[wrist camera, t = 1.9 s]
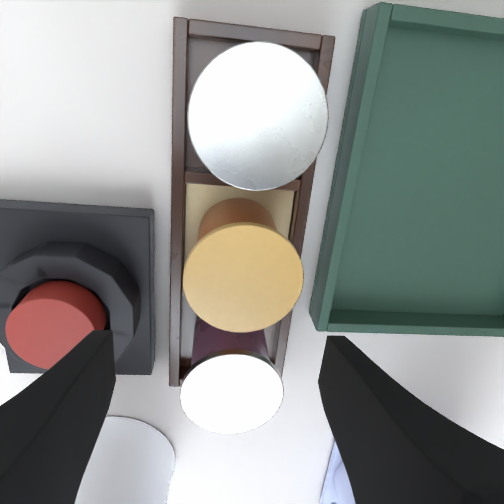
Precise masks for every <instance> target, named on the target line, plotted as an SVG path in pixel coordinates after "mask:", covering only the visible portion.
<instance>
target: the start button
mask: <svg viewBox="0 0 504 504" xmlns="http://www.w3.org/2000/svg"><path fill="white" fill-rule="evenodd" d="M105 324H106V314H105V310H104V307H103V305H102V303H101V302H100V300H99V299H98V298H97V297H96V295H94V294H93V293H92V292H91V291H90V290H88V289H87V288H85V287H83V286H81V285H79V284H76V283H73V282H68V281H49V282H45V283H42V284H40V285H38V286H36V287H35V288H33V289H32V290H31V291H30V292H29V293H28V294H27V295H26V296H25V297H24V298H23V300H22V301H21V302H20V303H19V304H18V305H17V306H16V307H15V308H14V310H13V311H12V312H11V313H10V315H9V316H8V319H7V321H6V327H5V332H6V337H7V340H8V343H9V345H10V346H11V348H12V349H13V351H14V352H15V353H16V354H17V355H18V356H19V357H21V358H22V359H23V360H25V361H26V362H28V363H30V364H32V365H34V366H37V367H40V368H44V369H50V368H51V367H52V366H53V365H54V364H56V363H57V362H58V361H59V360H60V359H61V358H63V357H64V356H65V355H66V354H67V353H68V352H69V351H70V350H71V349H73V348H74V347H75V346H76V345H77V344H78V343H79V342H80V341H81V340H82V339H83V338H85V337H86V336H87V335H88V334H89V333H90V332H91V331H93V330H104V328H105Z"/></svg>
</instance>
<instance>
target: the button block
mask: <svg viewBox="0 0 504 504" xmlns="http://www.w3.org/2000/svg"><path fill="white" fill-rule="evenodd" d="M49 281H68V282H73V283H76V284H79V285H81V286H83V287H85V288H87V289H88V290H90V291H91V292H92V293H93V294H94V295H96V297H97V298H98V299H99V300H100V302H101V303H102V305H103V307H104V310H105V314H106V324H105V328H104V330H113V345H114V361H115V374H118V375H151V374H152V370H153V365H154V361H155V344H154V211H153V210H152V209H140V208H124V207H109V206H93V205H78V204H62V203H46V202H31V201H15V200H0V343H1V344H2V345H3V346H4V347H5V350H6V355H7V360H8V365H9V370H10V373H45V372H46V371H48V370H49V369H44V368H40V367H37V366H34V365H32V364H30V363H28V362H26V361H25V360H23V359H22V358H21V357H19V356H18V355H17V354H16V353H15V352H14V351H13V349H12V348H11V346H10V345H9V343H8V340H7V337H6V332H5V327H6V321H7V319H8V316H9V315H10V313H11V312H12V311H13V310H14V308H15V307H16V306H17V305H18V304H19V303H20V302H21V301H22V300H23V298H24V297H25V296H26V295H27V294H28V293H29V292H30V291H31V290H32V289H33V288H35V287H36V286H38V285H40V284H42V283H45V282H49Z"/></svg>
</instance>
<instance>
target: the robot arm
mask: <svg viewBox="0 0 504 504" xmlns="http://www.w3.org/2000/svg"><path fill="white" fill-rule="evenodd" d="M115 381H116V376H115V361H114V345H113V330H93V331H91V332H90V333H89V334H88V335H87V336H86V337H85V338H83V339H82V340H81V341H80V342H79V343H78V344H77V345H76V346H75V347H74V348H73V349H71V350H70V351H69V352H68V353H67V354H66V355H65V356H64V357H63V358H61V359H60V360H59V361H58V362H57V363H56V364H54V365H53V366H52V367H51V368H50V369H49V370H48V371H46V372H45V373H44V374H43V375H41V376H40V377H39V378H38V379H36V380H35V381H34V382H33V383H31V384H30V385H29V386H28V387H26V388H25V389H24V390H22V391H21V392H20V393H18V394H17V395H16V396H14V397H13V398H11V399H10V400H8V401H7V402H5V403H4V404H2V405H1V406H0V504H75V500H76V497H77V493H78V490H79V487H80V484H81V481H82V478H83V475H84V473H85V470H86V467H87V465H88V462H89V460H90V457H91V454H92V452H93V449H94V447H95V444H96V441H97V439H98V436H99V434H100V431H101V428H102V426H103V423H104V420H105V418H106V415H107V412H108V409H109V406H110V402H111V398H112V394H113V390H114V385H115ZM318 384H319V389H320V394H321V399H322V403H323V407H324V411H325V414H326V417H327V419H328V422H329V425H330V428H331V431H332V433H333V436H334V439H335V442H334V446H333V450H332V454H331V458H330V462H329V467H328V471H327V475H326V479H325V483H324V487H323V491H322V495H321V499H320V503H321V504H504V450H503V449H501V448H499V447H497V446H495V445H493V444H491V443H489V442H487V441H486V440H484V439H482V438H480V437H478V436H476V435H474V434H473V433H471V432H469V431H468V430H466V429H464V428H462V427H461V426H459V425H457V424H456V423H454V422H452V421H451V420H449V419H447V418H446V417H444V416H443V415H441V414H440V413H438V412H437V411H435V410H434V409H432V408H431V407H429V406H428V405H426V404H425V403H424V402H422V401H421V400H419V399H418V398H417V397H415V396H414V395H413V394H411V393H410V392H409V391H407V390H406V389H405V388H404V387H402V386H401V385H400V384H399V383H397V382H396V381H395V380H394V379H392V378H391V377H390V376H389V375H388V374H387V373H385V372H384V371H383V370H382V369H381V368H380V367H379V366H377V365H376V364H375V363H374V362H373V361H372V360H371V359H370V358H369V357H367V356H366V355H365V354H364V353H363V352H362V351H361V350H360V349H359V348H358V347H357V346H355V345H354V344H353V343H352V342H351V341H350V340H349V339H348V338H346V337H345V336H327V340H326V345H325V350H324V355H323V360H322V365H321V370H320V375H319V379H318Z"/></svg>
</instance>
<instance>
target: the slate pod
mask: <svg viewBox="0 0 504 504" xmlns="http://www.w3.org/2000/svg"><path fill="white" fill-rule="evenodd" d="M187 118H188V129H189V135H190V138H191V142H192V145H193V147H194V149H195V152H196V154H197V155H198V157H199V159H200V160H201V162H202V163H203V164H204V165H205V167H206V168H207V169H208V170H209V171H210V172H211V173H212V174H213V175H215V176H216V177H217V178H219V179H220V180H222V181H223V182H225V183H227V184H229V185H231V186H234V187H237V188H240V189H244V190H251V191H262V190H270V189H274V188H278V187H280V186H283V185H285V184H287V183H289V182H291V181H293V180H294V179H296V178H297V177H298V176H300V175H301V174H302V173H303V172H304V171H305V170H306V169H307V168H308V167H309V166H310V165H311V164H312V162H313V161H314V160H315V158H316V157H317V155H318V153H319V151H320V149H321V147H322V145H323V142H324V139H325V136H326V132H327V127H328V104H327V98H326V94H325V90H324V88H323V85H322V83H321V81H320V79H319V77H318V75H317V74H316V72H315V71H314V69H313V68H312V67H311V65H310V64H309V63H308V62H307V61H306V60H305V59H304V58H303V57H301V56H300V55H299V54H297V53H296V52H295V51H293V50H291V49H289V48H287V47H285V46H282V45H279V44H277V43H272V42H267V41H253V42H245V43H242V44H238V45H235V46H233V47H230V48H228V49H226V50H225V51H223V52H221V53H220V54H218V55H217V56H216V57H215V58H214V59H212V60H211V61H210V62H209V63H208V64H207V66H206V67H205V68H204V69H203V71H202V72H201V73H200V75H199V76H198V78H197V80H196V82H195V84H194V86H193V89H192V92H191V95H190V99H189V104H188V113H187Z"/></svg>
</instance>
